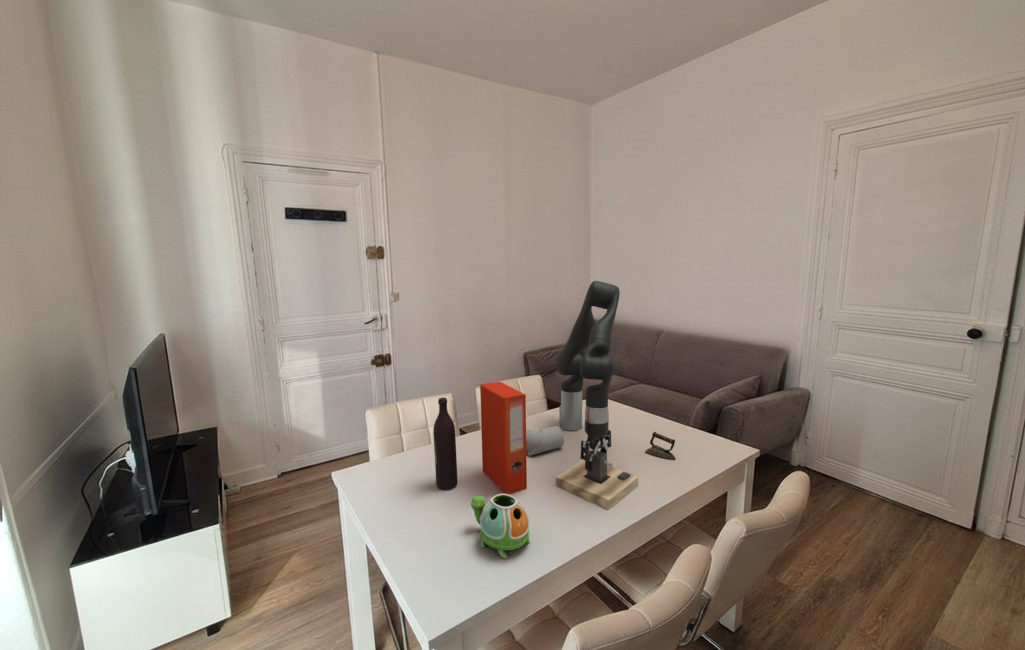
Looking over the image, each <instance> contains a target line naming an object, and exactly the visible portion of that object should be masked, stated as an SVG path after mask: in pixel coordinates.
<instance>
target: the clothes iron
mask: <svg viewBox="0 0 1025 650" xmlns="http://www.w3.org/2000/svg"><path fill="white" fill-rule="evenodd" d="M651 435H652V437H651V438H650V441H649V444H650V446H651V447H649V448H647V449H646V450H645V451H644V453H645V454H647V455H649V456H652V457H655V458H659V459H663V460H667V461H668V460H669V461H676V457H675V455H674V454H673V453H672V452H671V451H672V450H673V448H674V447H675V443H676V439H674V438H673V439H672V438H669V437H668V436H665V435H663V434H660V433H657V432H656V431H653V432H652V434H651ZM655 438H656V439H658V440H661V441H664V442H666V443H669V444H671V445H670V447H669V449H666V448H664V447H661V446H659V445H657V444H655V443H654V440H655Z"/></svg>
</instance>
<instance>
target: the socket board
mask: <svg viewBox="0 0 1025 650" xmlns="http://www.w3.org/2000/svg"><path fill="white" fill-rule="evenodd" d="M554 480H555V486H556V487H558V488H559V489H560V488H561V489H563V490H565V491H567V492H569V493H571V494H573V495H576V496H578V497H580V498H582V499H585V500H587V501H589V502H591V503H593V504H596V505H598V506H600V507H603V508H605V509H606V510H610V509H611V508H612V507H613V506H615V505H616V504H617V503H619V502H620V501H621V500H622V499H624V497H626V496H627V495H629V493H631V492H632V491H633V490H634V489H635V488H637V487H638V486H639V476H637V475H635V474H632V473H630V472H627V471H624V470H621V469H619V468H616V467H613V466H612V467H611V466H608V465H607V480H606V481H605V482H603V483H602V484H599V483H597V482H594V481H592V480H589V479H587V470H586V469H585V460H583V459H581V460H580V461H578V462H577V463H576V464H574V465H573V466H571V467H569V468H567V469H566V470H564V471H563V472H561V473H560V474H558V475H556V476H555V479H554Z"/></svg>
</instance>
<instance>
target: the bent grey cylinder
mask: <svg viewBox="0 0 1025 650" xmlns="http://www.w3.org/2000/svg"><path fill="white" fill-rule="evenodd" d="M564 441H565V438H564V434H563V432H562V429H561V428H560V426H558V425H555V426H554V425H553V426H549V427H545V428H542V429H539V431H537V430H532V429H527V428H526V453H527V456H528V457H530V456H533V455H537V454H538V455H539V454H542V453H544V452H548V451H552V450H556V449H559V448H562V447H563V446H564Z"/></svg>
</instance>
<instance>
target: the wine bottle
mask: <svg viewBox="0 0 1025 650" xmlns="http://www.w3.org/2000/svg"><path fill="white" fill-rule="evenodd" d="M437 402H438V403H437V404H438V415H437V418H436V419H435V421H434V424H433V428H432V429H433V432H432V433H433V448H434V450H433V451H434V466H435V467H434V468H435V484H436V487H437V489H438V490H441V491H449V490H453V489H455V488H456V487H457V486H458V465H457V464H458V462H457V460H458V459H457V442H456V440H457V439H456V427H455V424H454V420H453V418H452V417H451V415H450V414H449V411H448V399H447V397H439V398H438V401H437Z"/></svg>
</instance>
